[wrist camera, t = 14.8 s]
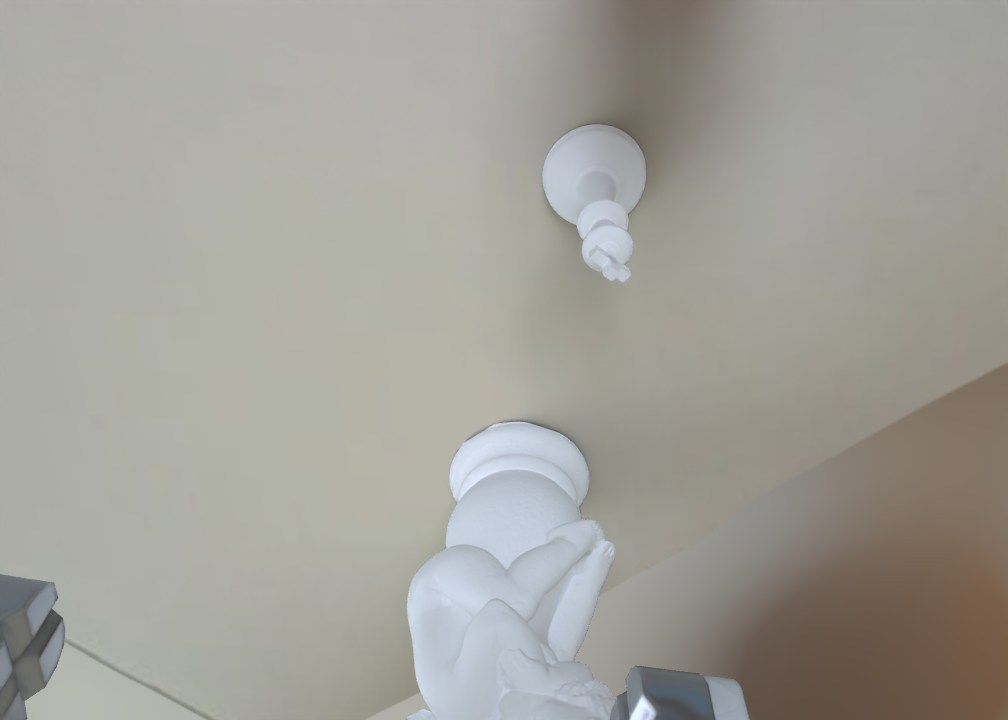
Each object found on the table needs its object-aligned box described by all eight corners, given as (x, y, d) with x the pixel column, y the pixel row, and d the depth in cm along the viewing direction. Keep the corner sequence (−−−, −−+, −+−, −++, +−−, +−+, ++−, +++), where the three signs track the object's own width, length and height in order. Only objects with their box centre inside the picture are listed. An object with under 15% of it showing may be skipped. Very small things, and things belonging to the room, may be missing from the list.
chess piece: (589, 101, 34) (606, 185, 26) (667, 167, 36) (707, 264, 28) (521, 183, 37) (518, 283, 28) (598, 241, 38) (616, 352, 30)
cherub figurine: (623, 435, 45) (682, 833, 27) (575, 570, 52) (596, 959, 34) (421, 402, 45) (344, 791, 26) (400, 544, 51) (326, 929, 33)
